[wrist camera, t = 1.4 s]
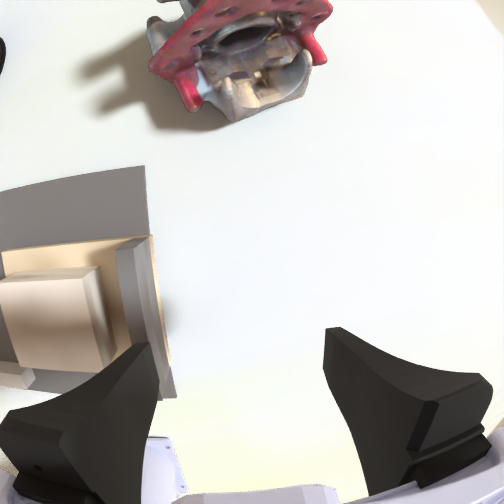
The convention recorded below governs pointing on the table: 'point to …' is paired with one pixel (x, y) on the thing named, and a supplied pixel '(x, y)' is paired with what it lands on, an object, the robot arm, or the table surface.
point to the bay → (65, 231)
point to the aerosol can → (2, 54)
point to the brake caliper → (238, 52)
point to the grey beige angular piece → (84, 304)
